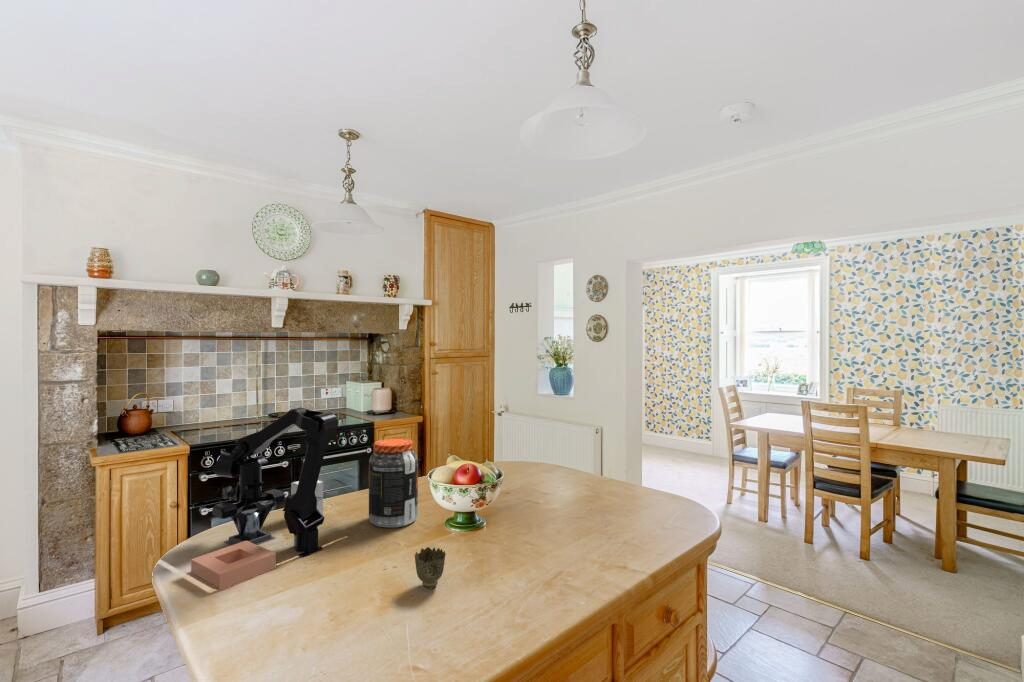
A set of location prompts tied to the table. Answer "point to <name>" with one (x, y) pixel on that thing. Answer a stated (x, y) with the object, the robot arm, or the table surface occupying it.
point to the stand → (263, 538)
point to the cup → (430, 566)
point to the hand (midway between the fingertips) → (250, 532)
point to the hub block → (233, 564)
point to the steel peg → (251, 525)
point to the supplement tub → (393, 483)
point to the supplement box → (317, 492)
